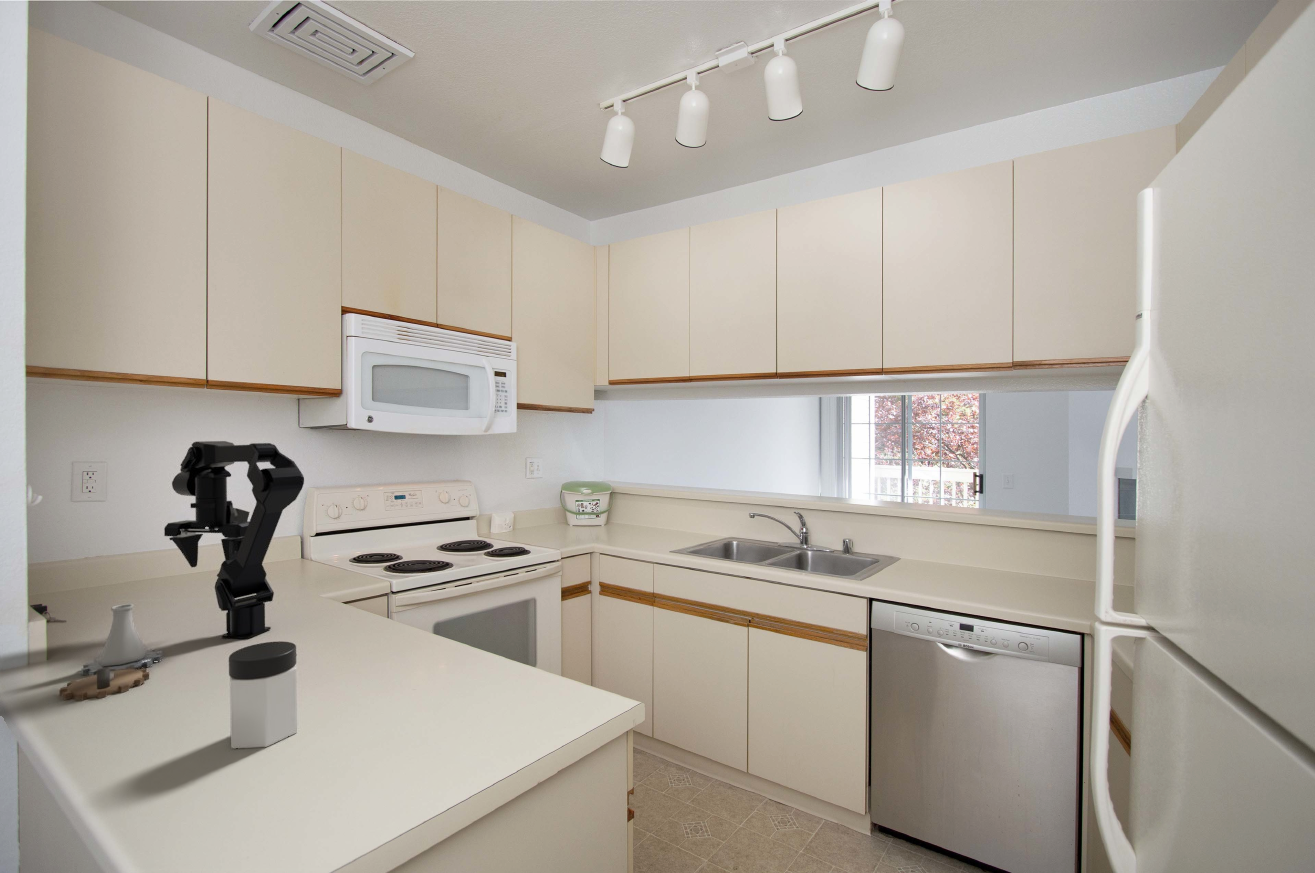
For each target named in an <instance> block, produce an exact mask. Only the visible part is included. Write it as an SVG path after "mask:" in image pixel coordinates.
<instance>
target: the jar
mask: <svg viewBox="0 0 1315 873" xmlns="http://www.w3.org/2000/svg"><path fill="white" fill-rule="evenodd" d="M297 655H298V654H297V645H296V644H295V643H293V642H291V641H277V640H276V641H268V642H260V643H256V644H252V645H248V646H245V647H242V648H239V649H237V650H235V651H233V652H232V653H231V654H230V655H229V656H228V676H229V715H230V716H229V718H230V720H229V722H230V724H229V726H230V727H229V728H230V748H231V749H233V750H234V749H235V750H236V748H238V749H250V748H251V749H255V748H256V749H257V748H266V747H267V748H268V747H269V746H272V745H273V744H276V743H279V742H280V741H282V740H284V739H286V738H288V736H289V737H290V736H293V735H295V734H296V733H298V729H299V728H298V725H299V724H298V723H299V722H298V721H299V720H298V668H297V665H296V664H297Z"/></svg>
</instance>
